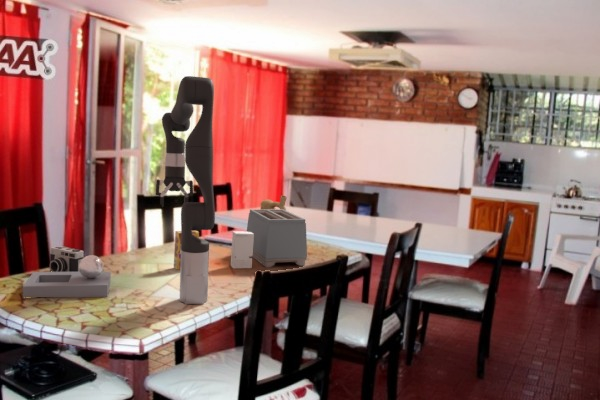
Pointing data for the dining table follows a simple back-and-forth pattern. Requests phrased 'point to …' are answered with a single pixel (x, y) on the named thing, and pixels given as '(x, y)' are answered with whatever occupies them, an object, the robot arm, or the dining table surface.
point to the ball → (91, 266)
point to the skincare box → (242, 249)
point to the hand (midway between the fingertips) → (174, 206)
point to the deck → (66, 285)
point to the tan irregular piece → (274, 204)
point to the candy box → (178, 248)
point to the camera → (65, 259)
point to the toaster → (277, 236)
